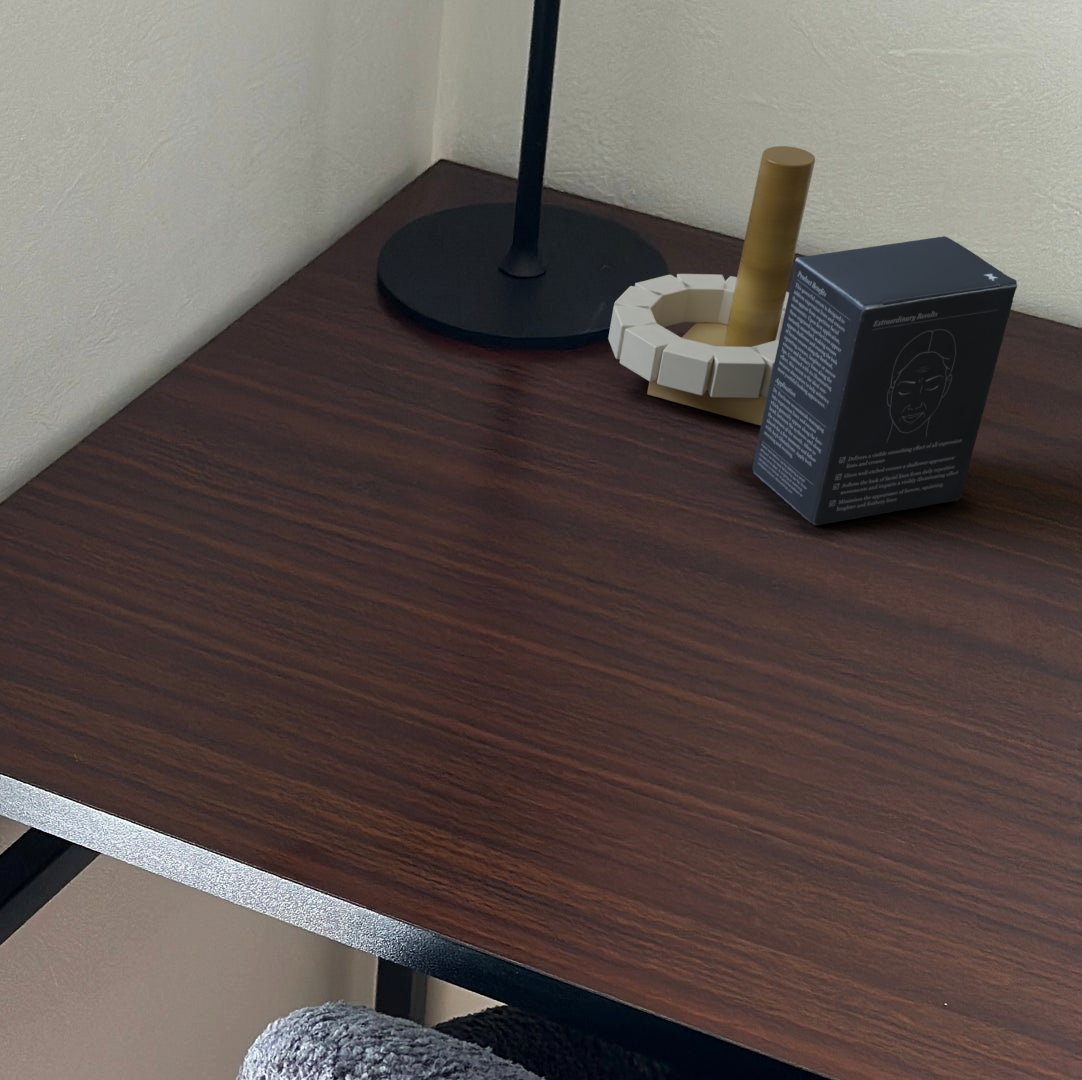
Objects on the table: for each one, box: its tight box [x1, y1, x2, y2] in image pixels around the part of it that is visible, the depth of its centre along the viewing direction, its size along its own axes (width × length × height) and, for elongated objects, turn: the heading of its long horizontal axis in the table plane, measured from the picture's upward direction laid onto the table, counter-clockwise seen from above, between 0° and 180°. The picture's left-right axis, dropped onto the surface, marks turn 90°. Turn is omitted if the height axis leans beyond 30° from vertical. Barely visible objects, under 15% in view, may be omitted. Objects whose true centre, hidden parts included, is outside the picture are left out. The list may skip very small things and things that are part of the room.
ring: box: [607, 273, 789, 398], centre depth 115 cm, size 10×10×2 cm
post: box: [646, 145, 816, 427], centre depth 112 cm, size 7×7×12 cm
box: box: [751, 235, 1018, 526], centre depth 105 cm, size 8×6×11 cm
